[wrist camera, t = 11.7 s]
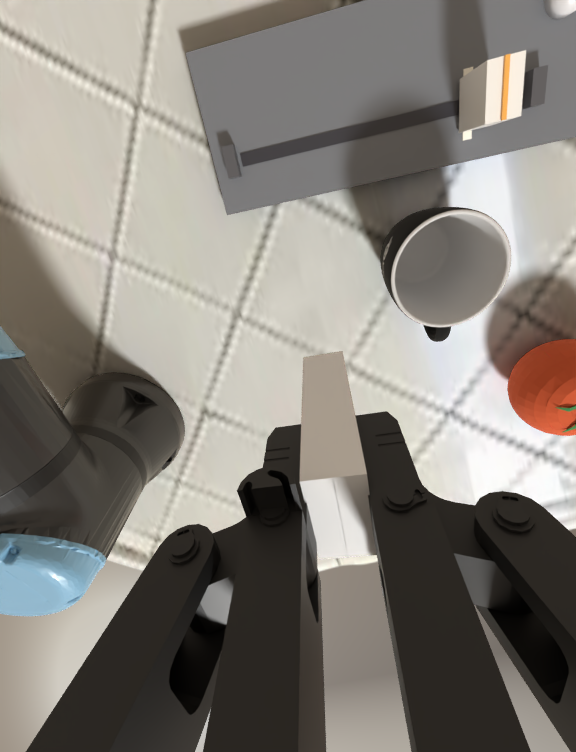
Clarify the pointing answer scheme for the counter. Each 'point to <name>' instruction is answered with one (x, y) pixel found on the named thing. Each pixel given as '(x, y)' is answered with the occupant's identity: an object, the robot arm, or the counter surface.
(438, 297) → the mug
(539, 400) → the tomato
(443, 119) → the console
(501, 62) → the fader tab
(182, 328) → the counter surface
